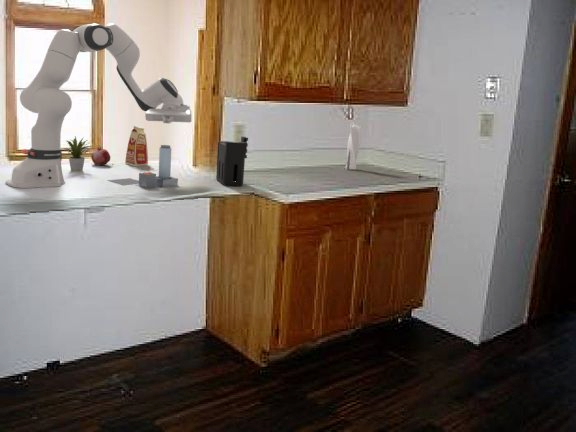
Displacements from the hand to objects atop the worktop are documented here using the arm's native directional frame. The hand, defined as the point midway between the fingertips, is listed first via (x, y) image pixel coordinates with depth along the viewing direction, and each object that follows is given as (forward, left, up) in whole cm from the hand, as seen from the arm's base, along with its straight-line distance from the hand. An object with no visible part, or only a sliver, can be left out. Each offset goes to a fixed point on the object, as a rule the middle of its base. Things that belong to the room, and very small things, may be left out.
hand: (166, 121), depth 258 cm
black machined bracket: (+31, -11, -28) cm, 43 cm away
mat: (-15, +7, -28) cm, 32 cm away
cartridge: (-4, -5, -27) cm, 27 cm away
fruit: (+2, +53, -28) cm, 60 cm away
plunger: (-13, -5, -23) cm, 26 cm away
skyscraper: (+132, -11, -28) cm, 136 cm away
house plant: (-18, +42, -28) cm, 54 cm away
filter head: (-8, -5, -28) cm, 29 cm away
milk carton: (+21, +49, -28) cm, 61 cm away
